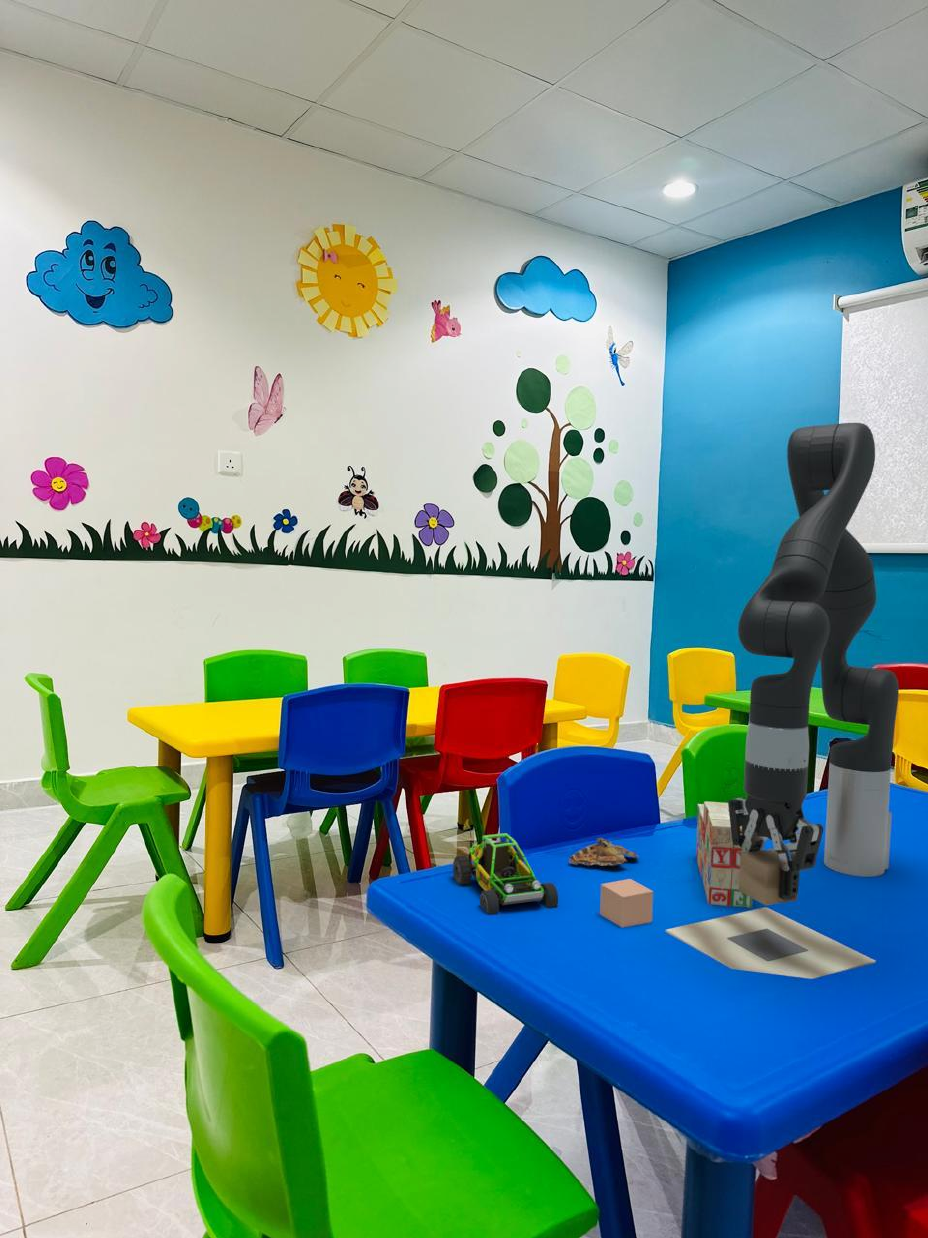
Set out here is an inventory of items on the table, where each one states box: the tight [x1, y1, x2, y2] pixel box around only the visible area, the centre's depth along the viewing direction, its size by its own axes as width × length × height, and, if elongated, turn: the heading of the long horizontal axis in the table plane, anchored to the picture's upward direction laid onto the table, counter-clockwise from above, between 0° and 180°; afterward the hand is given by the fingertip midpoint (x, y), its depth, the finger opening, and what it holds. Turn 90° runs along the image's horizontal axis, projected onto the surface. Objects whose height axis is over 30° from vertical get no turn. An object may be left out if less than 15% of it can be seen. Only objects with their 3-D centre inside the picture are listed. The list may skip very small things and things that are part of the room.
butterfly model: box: [568, 837, 640, 867], centre depth 147 cm, size 9×12×3 cm
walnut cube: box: [739, 848, 798, 906], centre depth 114 cm, size 5×5×5 cm
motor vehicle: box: [452, 818, 559, 916], centre depth 133 cm, size 11×18×10 cm, turn 20°
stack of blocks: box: [695, 801, 754, 909], centre depth 139 cm, size 21×6×12 cm, turn 171°
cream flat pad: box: [665, 906, 876, 980], centre depth 115 cm, size 18×18×1 cm
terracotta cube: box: [599, 878, 654, 928], centre depth 123 cm, size 5×5×5 cm
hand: (769, 889), depth 114 cm, fingers closed on walnut cube, 5 cm apart
